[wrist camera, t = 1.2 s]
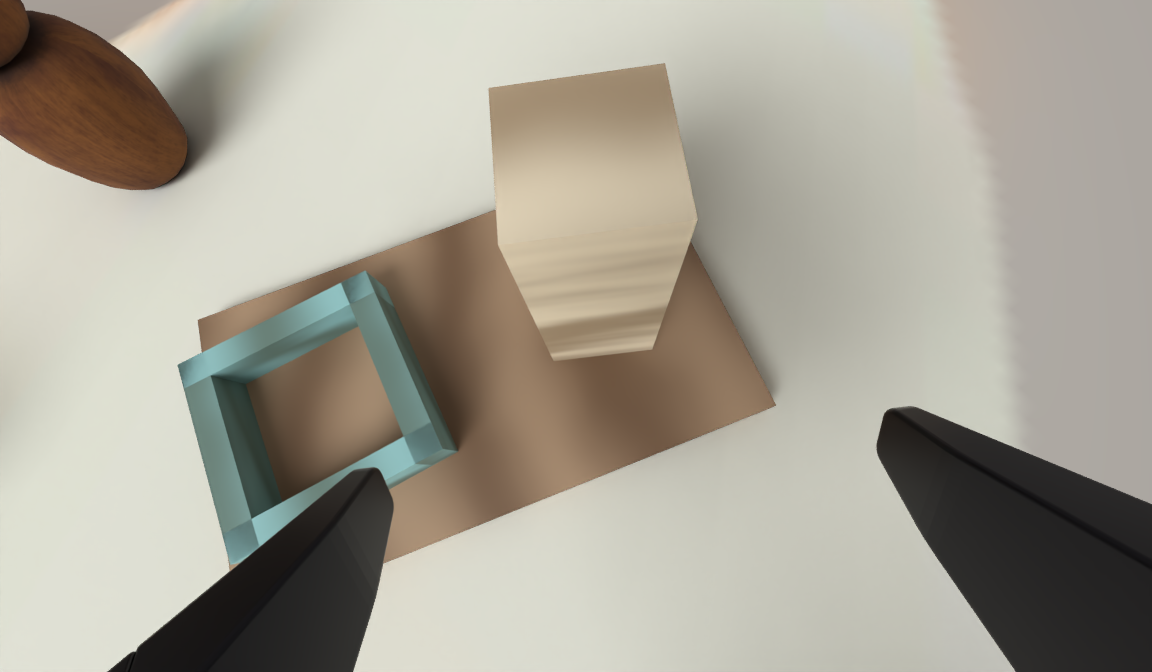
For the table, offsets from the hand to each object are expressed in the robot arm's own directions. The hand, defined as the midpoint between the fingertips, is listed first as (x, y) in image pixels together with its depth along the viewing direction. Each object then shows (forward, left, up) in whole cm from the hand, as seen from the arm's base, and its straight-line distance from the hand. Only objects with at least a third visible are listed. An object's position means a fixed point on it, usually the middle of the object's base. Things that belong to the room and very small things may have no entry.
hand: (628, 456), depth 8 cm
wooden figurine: (+32, +2, -13) cm, 34 cm away
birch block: (+5, -5, -12) cm, 14 cm away
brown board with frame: (+8, 0, -13) cm, 15 cm away
